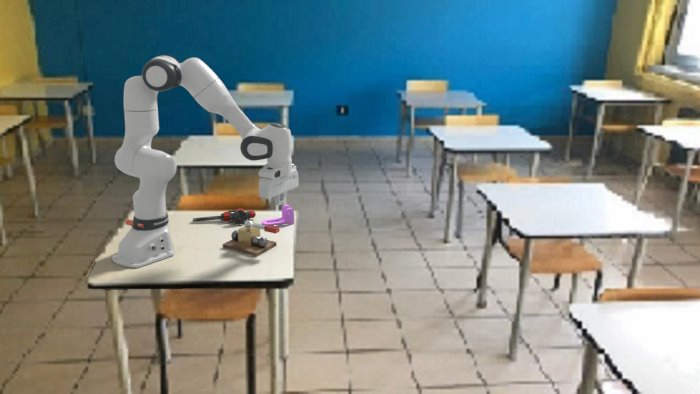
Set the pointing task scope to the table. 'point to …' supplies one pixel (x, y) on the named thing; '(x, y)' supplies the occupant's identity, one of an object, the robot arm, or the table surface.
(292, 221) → the bracket
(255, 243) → the ball valve
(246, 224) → the valve lever
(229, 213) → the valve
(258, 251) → the walnut board
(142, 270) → the table surface
